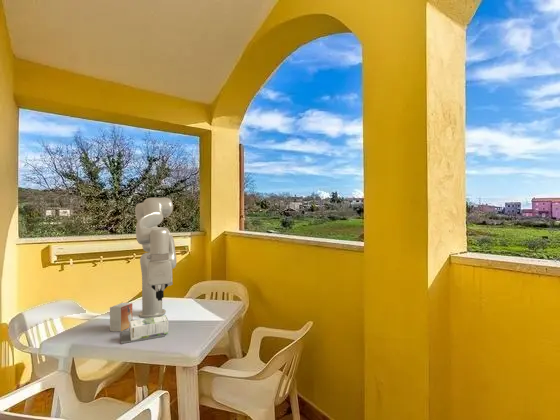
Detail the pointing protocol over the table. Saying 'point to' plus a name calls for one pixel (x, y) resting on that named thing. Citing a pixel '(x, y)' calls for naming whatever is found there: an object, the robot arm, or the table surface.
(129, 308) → the small box
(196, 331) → the table surface
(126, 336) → the mat
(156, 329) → the syrup box
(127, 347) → the table surface
